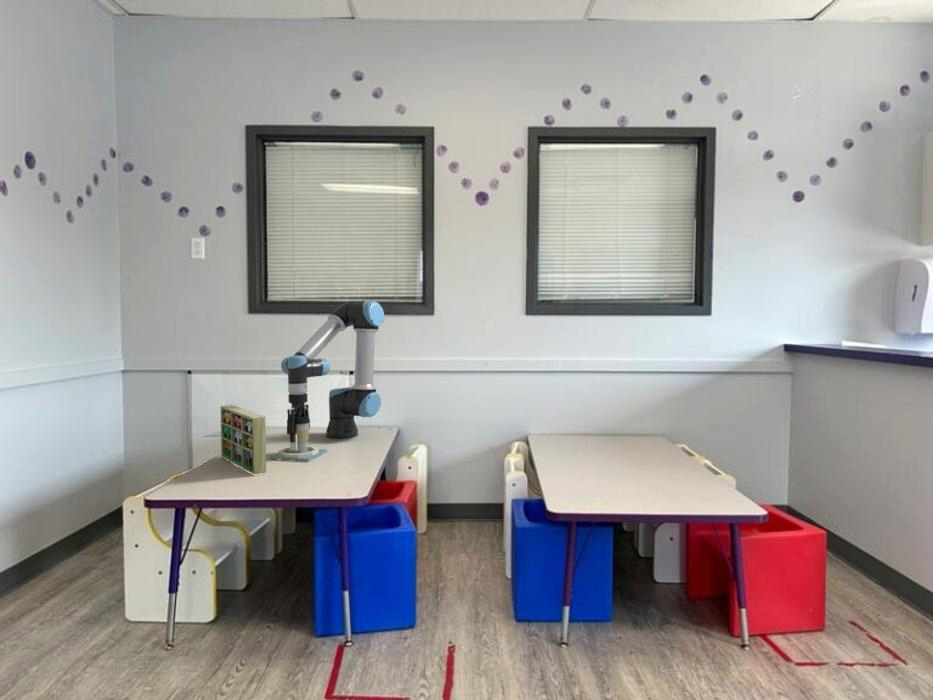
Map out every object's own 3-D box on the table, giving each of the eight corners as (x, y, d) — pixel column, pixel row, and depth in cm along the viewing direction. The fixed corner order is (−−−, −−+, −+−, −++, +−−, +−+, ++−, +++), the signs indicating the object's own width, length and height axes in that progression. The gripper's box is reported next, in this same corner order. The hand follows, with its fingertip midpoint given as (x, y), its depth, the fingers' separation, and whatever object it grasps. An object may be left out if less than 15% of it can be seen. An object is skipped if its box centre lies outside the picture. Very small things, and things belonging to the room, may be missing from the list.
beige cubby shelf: (221, 458, 242) (219, 405, 241) (232, 456, 245) (231, 404, 244) (254, 476, 216) (253, 417, 215) (266, 474, 219) (265, 416, 218)
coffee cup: (304, 456, 241) (303, 419, 240) (283, 455, 243) (282, 418, 242) (314, 450, 250) (314, 415, 249) (294, 449, 252) (293, 414, 251)
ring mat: (290, 450, 256) (290, 444, 256) (327, 452, 253) (326, 446, 253) (269, 459, 240) (269, 453, 240) (308, 462, 236) (308, 456, 236)
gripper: (293, 397, 233) (294, 453, 235) (317, 390, 254) (318, 442, 255) (276, 396, 235) (277, 453, 237) (301, 389, 255) (302, 441, 257)
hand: (299, 447), depth 246 cm, fingers closed on coffee cup, 8 cm apart
